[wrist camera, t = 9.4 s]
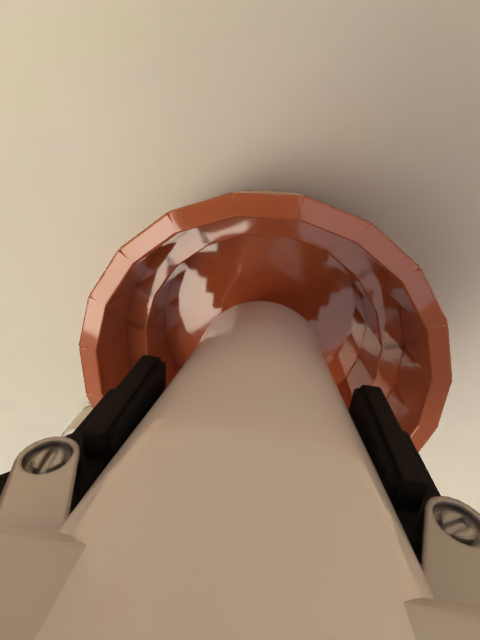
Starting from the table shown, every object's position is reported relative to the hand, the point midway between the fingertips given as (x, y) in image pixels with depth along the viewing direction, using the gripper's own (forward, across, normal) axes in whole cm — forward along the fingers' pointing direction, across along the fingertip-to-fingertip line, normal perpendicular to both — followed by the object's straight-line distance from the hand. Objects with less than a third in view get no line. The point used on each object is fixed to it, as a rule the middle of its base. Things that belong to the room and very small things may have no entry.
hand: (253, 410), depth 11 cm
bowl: (+7, 0, 0) cm, 7 cm away
